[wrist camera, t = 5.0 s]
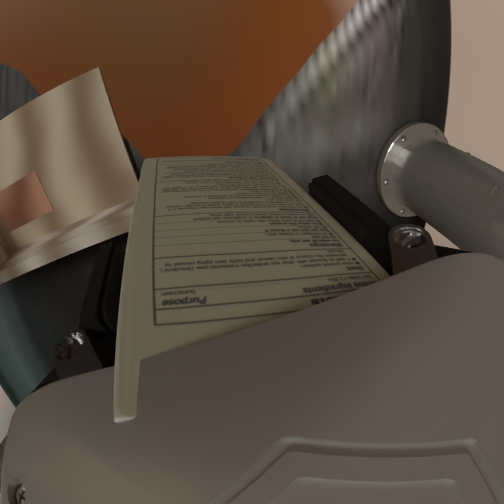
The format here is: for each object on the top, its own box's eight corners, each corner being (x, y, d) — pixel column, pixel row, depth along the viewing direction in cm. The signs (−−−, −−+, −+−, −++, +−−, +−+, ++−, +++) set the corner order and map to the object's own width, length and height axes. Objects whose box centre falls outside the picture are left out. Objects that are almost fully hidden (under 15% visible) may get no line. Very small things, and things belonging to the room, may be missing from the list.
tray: (100, 67, 21) (88, 66, 17) (147, 203, 29) (145, 225, 25) (-43, 153, 19) (-66, 167, 15) (10, 261, 27) (-3, 285, 23)
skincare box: (145, 238, 15) (143, 495, 5) (142, 155, 13) (83, 420, 3) (267, 235, 17) (380, 450, 7) (278, 157, 15) (467, 352, 5)
